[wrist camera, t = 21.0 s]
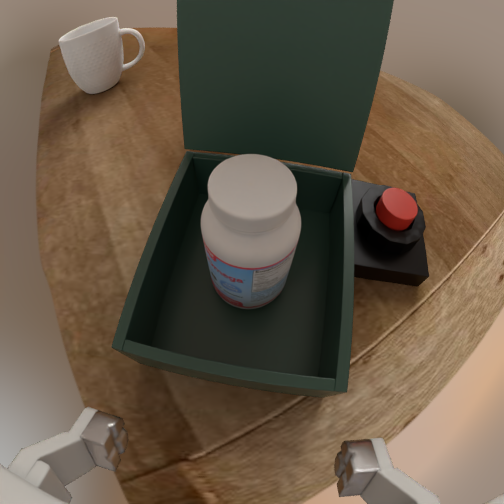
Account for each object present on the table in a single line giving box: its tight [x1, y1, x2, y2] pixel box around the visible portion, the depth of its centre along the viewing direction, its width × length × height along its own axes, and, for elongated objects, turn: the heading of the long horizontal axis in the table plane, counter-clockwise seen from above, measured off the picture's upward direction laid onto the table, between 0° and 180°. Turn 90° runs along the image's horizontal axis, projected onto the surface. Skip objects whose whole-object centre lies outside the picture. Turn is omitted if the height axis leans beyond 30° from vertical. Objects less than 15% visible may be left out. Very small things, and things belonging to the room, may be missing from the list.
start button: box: [376, 188, 418, 231], centre depth 24 cm, size 4×4×2 cm
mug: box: [59, 17, 145, 94], centre depth 39 cm, size 15×11×13 cm
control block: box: [351, 179, 429, 286], centre depth 26 cm, size 10×8×4 cm
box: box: [112, 151, 354, 397], centre depth 23 cm, size 18×15×6 cm
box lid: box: [177, 0, 394, 172], centre depth 19 cm, size 18×15×5 cm
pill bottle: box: [201, 154, 301, 309], centre depth 20 cm, size 6×6×11 cm
